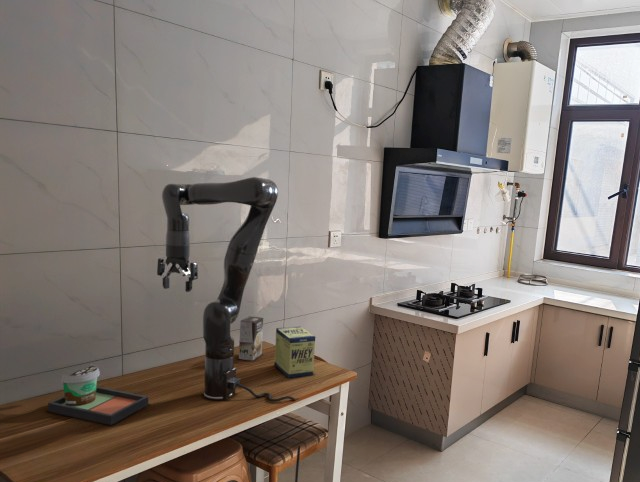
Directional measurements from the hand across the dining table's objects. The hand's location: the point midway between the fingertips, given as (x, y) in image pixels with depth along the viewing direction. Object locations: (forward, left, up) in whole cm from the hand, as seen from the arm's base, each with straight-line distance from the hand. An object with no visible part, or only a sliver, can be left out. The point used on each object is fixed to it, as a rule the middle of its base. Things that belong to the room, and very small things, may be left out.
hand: (177, 289), depth 189 cm
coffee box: (-10, -35, -33) cm, 49 cm away
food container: (+11, +29, -32) cm, 44 cm away
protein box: (-32, -29, -33) cm, 55 cm away
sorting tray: (+6, +29, -33) cm, 44 cm away
